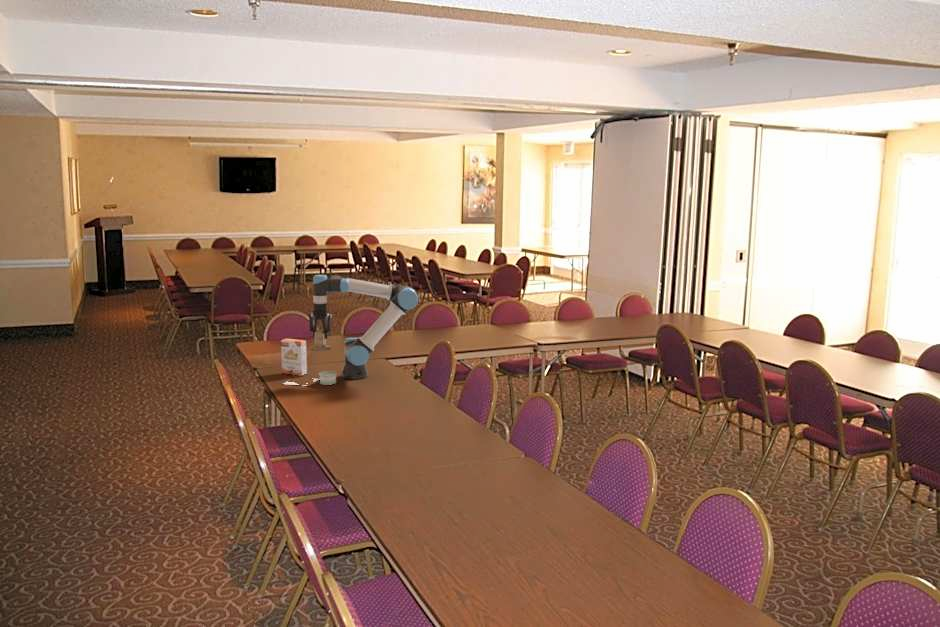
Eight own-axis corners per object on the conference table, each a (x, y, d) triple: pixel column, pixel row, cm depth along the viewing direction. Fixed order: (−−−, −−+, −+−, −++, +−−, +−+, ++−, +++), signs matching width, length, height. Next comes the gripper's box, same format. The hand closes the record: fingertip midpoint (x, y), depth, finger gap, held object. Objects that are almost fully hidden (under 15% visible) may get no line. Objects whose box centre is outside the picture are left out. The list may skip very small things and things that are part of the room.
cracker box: (281, 374, 458) (280, 339, 454) (287, 372, 463) (286, 337, 460) (301, 376, 453) (300, 341, 449) (307, 374, 458) (306, 339, 455)
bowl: (323, 381, 442) (323, 370, 441) (339, 382, 440) (339, 371, 439) (316, 385, 433) (315, 374, 432) (332, 387, 431) (332, 375, 430)
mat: (294, 378, 449) (294, 377, 449) (320, 379, 446) (320, 379, 446) (282, 384, 434) (282, 383, 434) (308, 386, 431) (308, 385, 430)
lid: (315, 346, 440) (314, 328, 439) (333, 347, 438) (333, 329, 437) (307, 350, 430) (307, 332, 428) (326, 351, 428) (326, 333, 426)
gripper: (302, 302, 428) (303, 344, 431) (332, 304, 425) (332, 346, 428) (308, 301, 435) (308, 342, 439) (337, 302, 432) (337, 343, 436)
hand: (320, 344), depth 433 cm, fingers closed on lid, 4 cm apart
